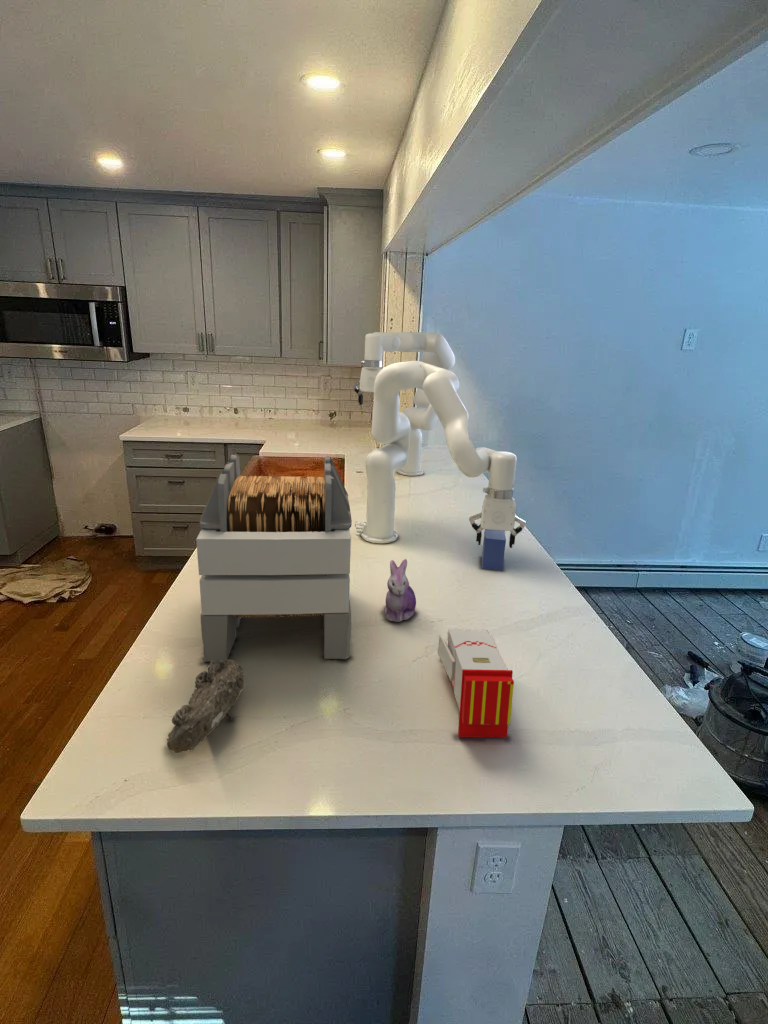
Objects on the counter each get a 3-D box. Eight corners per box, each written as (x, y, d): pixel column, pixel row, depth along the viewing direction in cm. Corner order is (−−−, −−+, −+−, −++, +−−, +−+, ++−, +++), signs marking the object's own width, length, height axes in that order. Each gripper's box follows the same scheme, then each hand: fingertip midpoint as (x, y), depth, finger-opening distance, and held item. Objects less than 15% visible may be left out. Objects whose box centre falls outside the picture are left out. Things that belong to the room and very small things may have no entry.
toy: (488, 613, 130) (523, 677, 101) (484, 667, 133) (517, 744, 104) (435, 612, 130) (455, 676, 101) (432, 666, 133) (451, 743, 103)
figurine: (392, 627, 141) (395, 572, 136) (374, 608, 149) (376, 556, 144) (425, 619, 145) (429, 566, 140) (405, 601, 154) (408, 550, 149)
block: (482, 568, 176) (485, 538, 172) (481, 557, 184) (484, 528, 181) (502, 570, 175) (506, 540, 172) (501, 559, 183) (504, 529, 180)
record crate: (225, 590, 155) (216, 445, 141) (344, 589, 159) (347, 447, 145) (201, 664, 123) (186, 485, 110) (351, 660, 127) (355, 487, 113)
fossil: (192, 660, 117) (244, 628, 112) (224, 691, 120) (276, 661, 115) (142, 746, 98) (202, 712, 93) (182, 779, 101) (242, 748, 96)
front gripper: (471, 494, 169) (466, 547, 175) (530, 498, 167) (524, 552, 173) (471, 487, 176) (467, 538, 182) (528, 491, 174) (522, 542, 180)
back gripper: (350, 363, 235) (349, 405, 241) (391, 366, 232) (389, 408, 237) (356, 362, 242) (354, 402, 248) (395, 365, 238) (393, 405, 244)
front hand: (494, 545), depth 177 cm, fingers open, 9 cm apart
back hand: (371, 405), depth 243 cm, fingers open, 9 cm apart
